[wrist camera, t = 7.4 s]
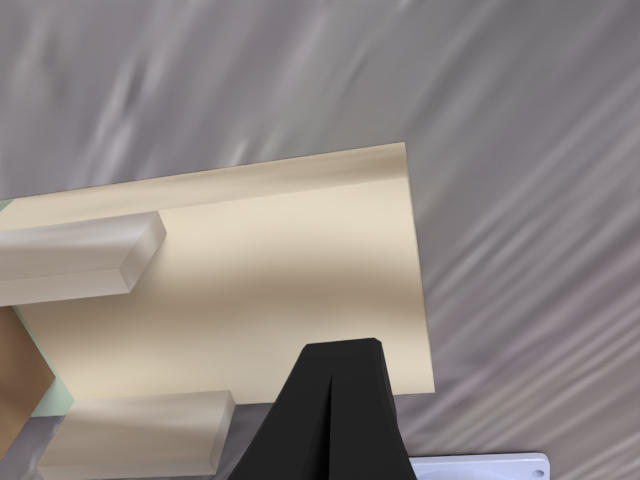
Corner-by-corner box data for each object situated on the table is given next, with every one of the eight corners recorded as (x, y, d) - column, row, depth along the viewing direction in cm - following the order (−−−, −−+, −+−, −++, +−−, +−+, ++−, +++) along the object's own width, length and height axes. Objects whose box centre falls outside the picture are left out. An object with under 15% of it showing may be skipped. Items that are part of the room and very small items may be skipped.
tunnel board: (429, 343, 22) (442, 466, 17) (-95, 384, 26) (-196, 490, 22) (404, 141, 17) (412, 234, 13) (-221, 232, 22) (-380, 325, 17)
